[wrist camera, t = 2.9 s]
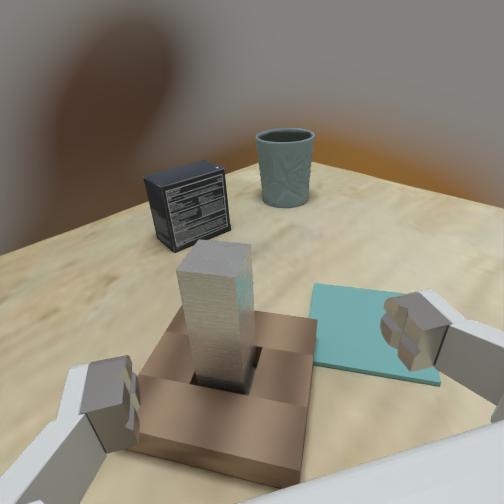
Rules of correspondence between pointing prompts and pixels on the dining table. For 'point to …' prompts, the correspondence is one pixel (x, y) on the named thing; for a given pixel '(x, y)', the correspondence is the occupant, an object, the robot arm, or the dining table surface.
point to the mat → (358, 334)
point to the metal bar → (220, 314)
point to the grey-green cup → (285, 165)
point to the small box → (188, 204)
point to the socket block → (231, 404)
